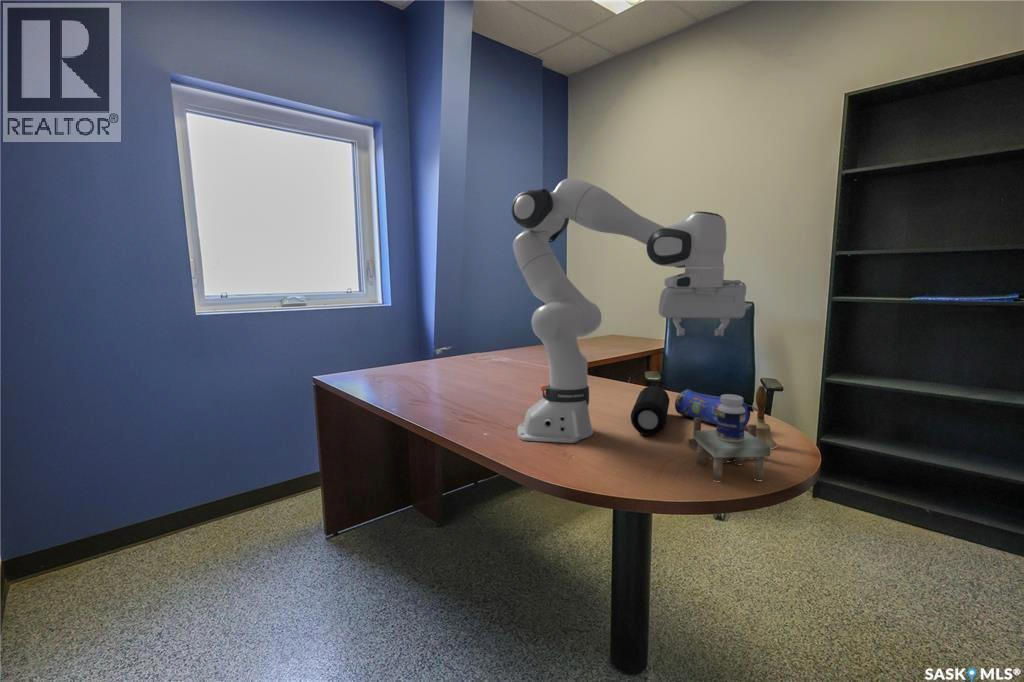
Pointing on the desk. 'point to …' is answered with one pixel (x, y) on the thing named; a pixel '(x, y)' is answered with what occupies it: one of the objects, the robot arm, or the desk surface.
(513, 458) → the desk surface
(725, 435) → the pill bottle
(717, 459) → the small table
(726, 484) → the desk surface
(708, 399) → the pencil case
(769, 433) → the hand bell
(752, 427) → the upturned stool
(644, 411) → the portable speaker
